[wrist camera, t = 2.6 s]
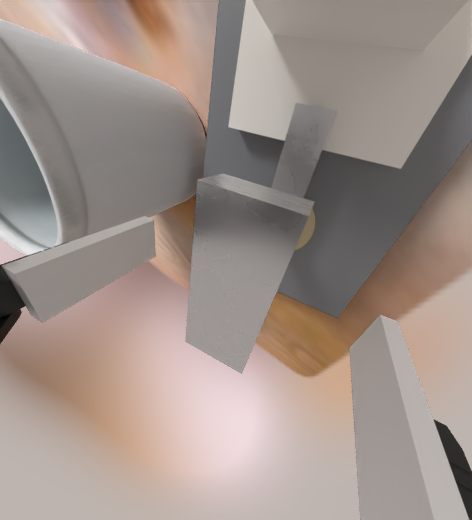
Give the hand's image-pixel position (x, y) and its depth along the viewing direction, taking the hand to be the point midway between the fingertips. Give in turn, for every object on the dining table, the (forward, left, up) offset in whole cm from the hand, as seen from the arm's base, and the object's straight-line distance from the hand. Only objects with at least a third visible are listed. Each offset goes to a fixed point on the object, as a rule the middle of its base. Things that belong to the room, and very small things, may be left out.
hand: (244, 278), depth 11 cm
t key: (-2, 0, -9) cm, 9 cm away
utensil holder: (-2, -18, -15) cm, 24 cm away
